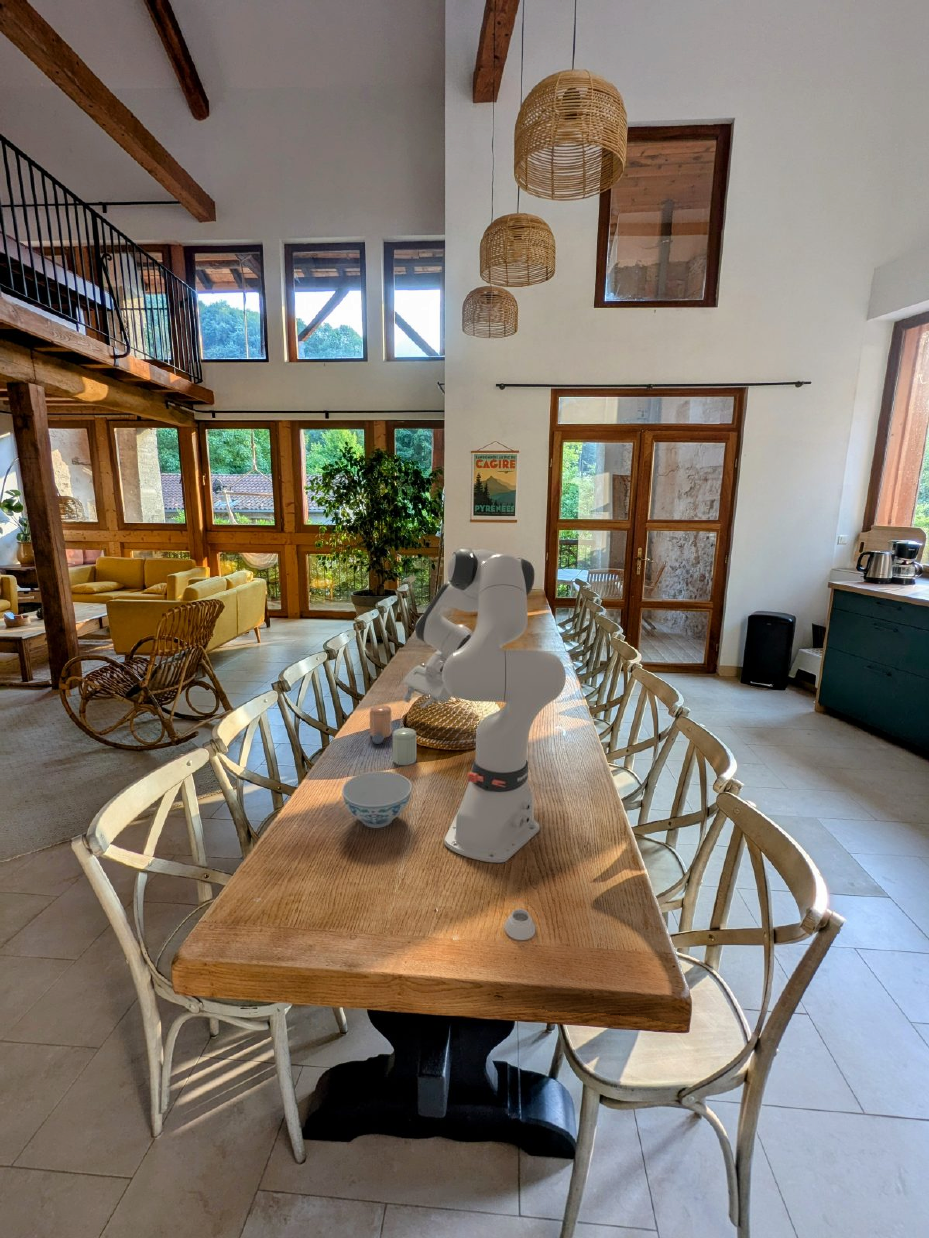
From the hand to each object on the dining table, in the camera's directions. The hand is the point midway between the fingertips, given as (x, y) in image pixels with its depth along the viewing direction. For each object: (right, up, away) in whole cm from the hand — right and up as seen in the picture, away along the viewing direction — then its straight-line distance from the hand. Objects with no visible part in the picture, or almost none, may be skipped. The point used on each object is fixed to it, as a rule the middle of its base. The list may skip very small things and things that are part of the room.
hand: (414, 705), depth 176 cm
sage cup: (-1, -11, -23) cm, 26 cm away
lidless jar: (+25, -25, -83) cm, 90 cm away
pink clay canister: (-9, -7, -7) cm, 14 cm away
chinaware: (-4, -17, -52) cm, 54 cm away
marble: (-9, -7, -14) cm, 18 cm away
